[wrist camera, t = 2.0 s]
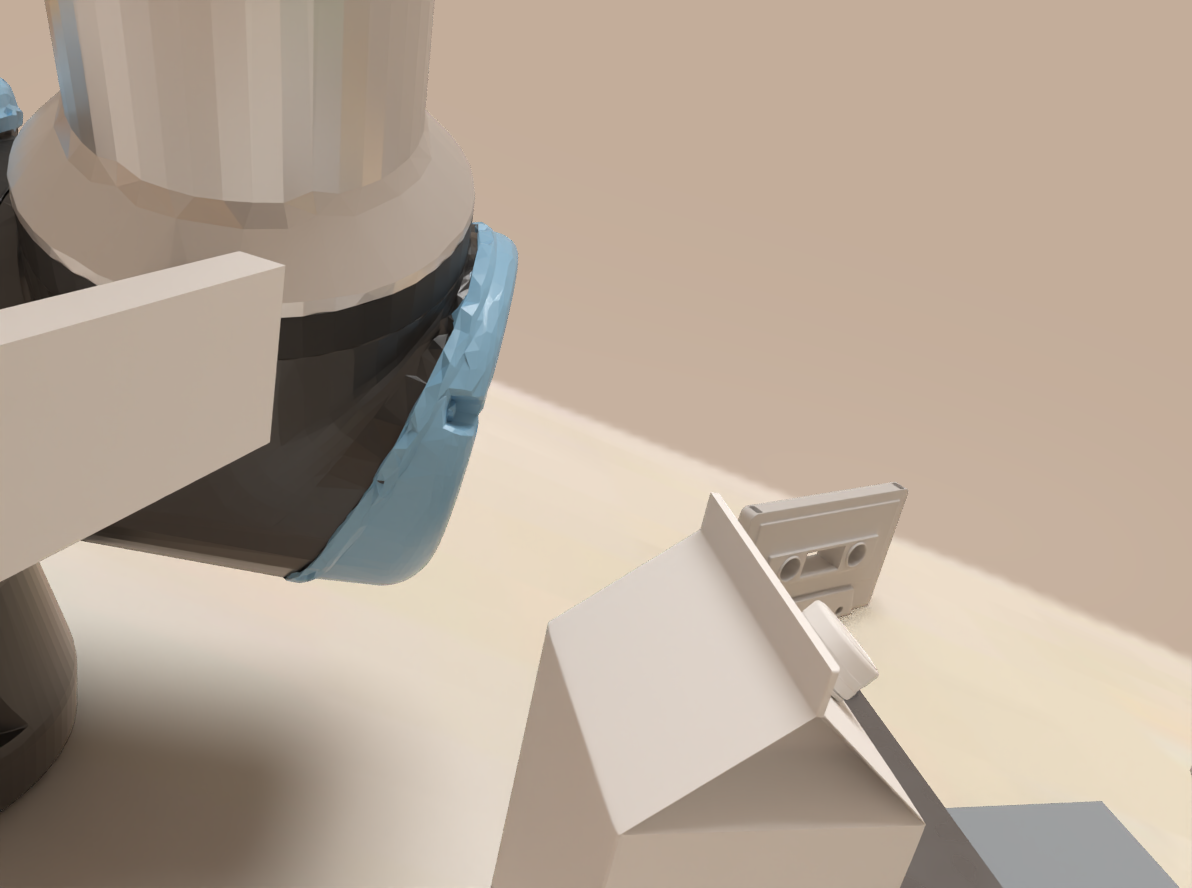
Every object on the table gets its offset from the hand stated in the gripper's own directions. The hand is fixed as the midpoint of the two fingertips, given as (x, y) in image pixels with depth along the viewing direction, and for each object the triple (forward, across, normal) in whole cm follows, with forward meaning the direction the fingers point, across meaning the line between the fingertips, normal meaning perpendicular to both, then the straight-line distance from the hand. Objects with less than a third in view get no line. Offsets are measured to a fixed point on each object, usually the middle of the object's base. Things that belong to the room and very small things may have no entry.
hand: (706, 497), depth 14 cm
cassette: (+40, 0, -24) cm, 47 cm away
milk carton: (+9, 0, -24) cm, 26 cm away
